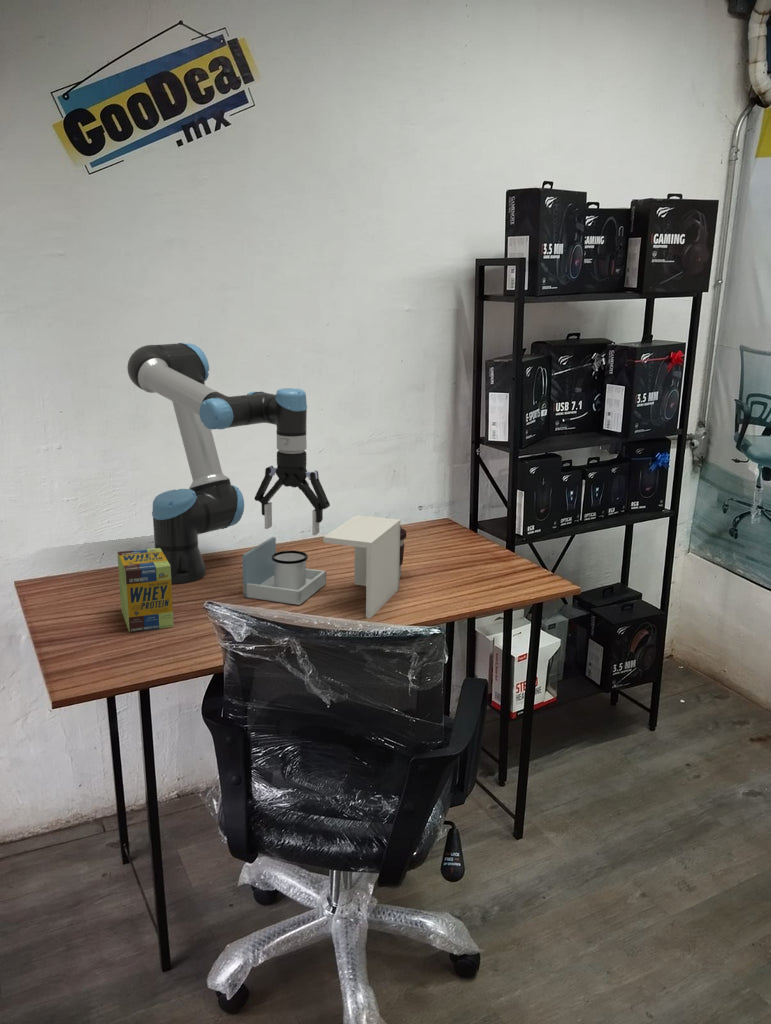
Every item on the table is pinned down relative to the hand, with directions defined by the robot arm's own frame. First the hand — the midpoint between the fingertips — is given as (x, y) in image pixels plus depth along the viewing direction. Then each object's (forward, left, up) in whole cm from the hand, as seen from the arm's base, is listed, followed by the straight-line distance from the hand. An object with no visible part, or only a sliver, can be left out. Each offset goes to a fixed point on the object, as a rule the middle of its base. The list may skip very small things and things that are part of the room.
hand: (291, 530), depth 220 cm
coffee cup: (+20, +20, -17) cm, 33 cm away
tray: (-2, 0, -17) cm, 17 cm away
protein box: (-25, -30, -17) cm, 42 cm away
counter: (+19, +1, -17) cm, 26 cm away
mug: (-1, 0, -16) cm, 16 cm away
